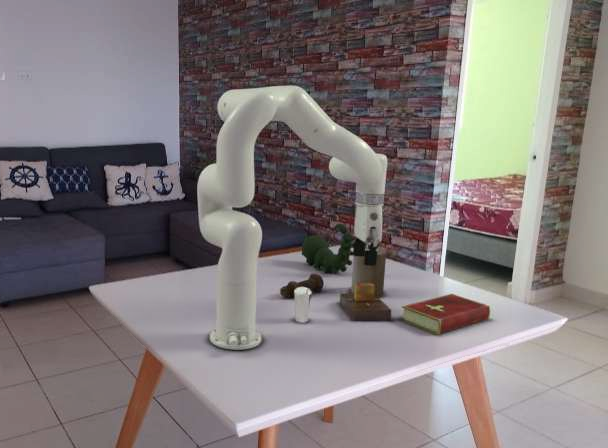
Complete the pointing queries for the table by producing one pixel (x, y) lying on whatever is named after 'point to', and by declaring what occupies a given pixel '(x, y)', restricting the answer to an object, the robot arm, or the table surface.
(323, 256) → the toy figurine
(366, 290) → the thumbturn
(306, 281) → the bolt
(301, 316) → the milkshake
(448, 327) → the hardcover book
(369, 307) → the lock plate
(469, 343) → the table surface
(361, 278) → the pillar candle
